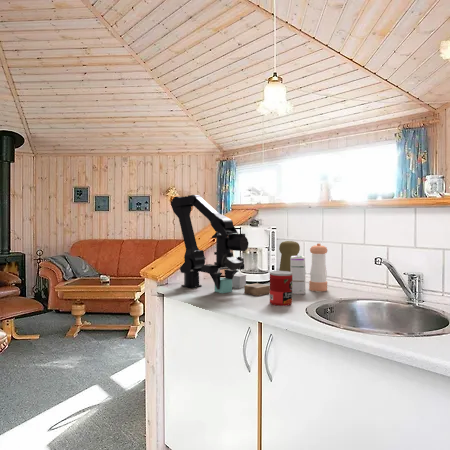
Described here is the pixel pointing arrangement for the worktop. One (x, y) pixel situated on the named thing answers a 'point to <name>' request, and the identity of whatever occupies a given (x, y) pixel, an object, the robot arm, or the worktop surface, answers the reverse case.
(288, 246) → the pepper shaker
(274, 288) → the canned food
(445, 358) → the worktop surface
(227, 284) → the teal cube
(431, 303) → the worktop surface
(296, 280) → the syrup box
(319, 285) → the pepper shaker
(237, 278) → the grey cube
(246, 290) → the oak slab
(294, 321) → the worktop surface
